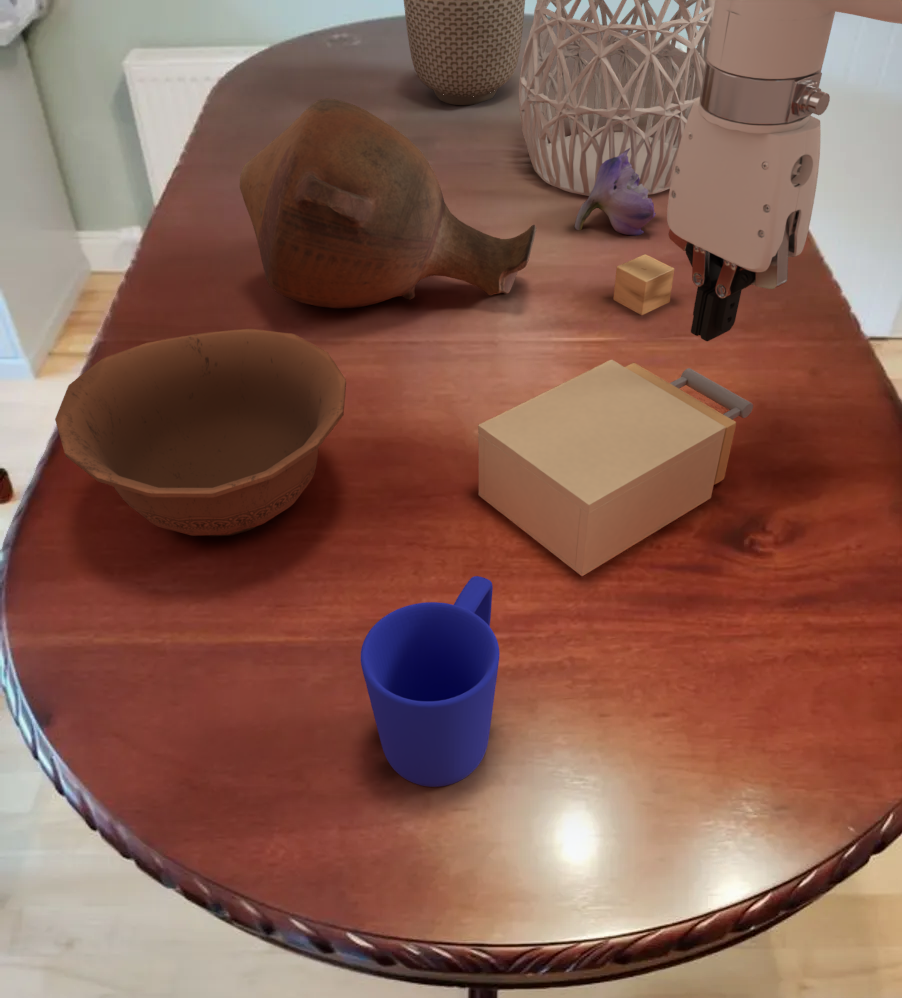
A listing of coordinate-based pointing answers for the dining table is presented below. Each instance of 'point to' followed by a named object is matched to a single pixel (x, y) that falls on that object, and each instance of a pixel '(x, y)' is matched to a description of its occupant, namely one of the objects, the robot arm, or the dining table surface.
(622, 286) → the block
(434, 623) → the mug
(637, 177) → the flower
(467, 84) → the planter
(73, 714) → the dining table surface
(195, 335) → the bowl
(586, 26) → the vase
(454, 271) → the jug
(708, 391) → the drawer
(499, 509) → the cabinet
